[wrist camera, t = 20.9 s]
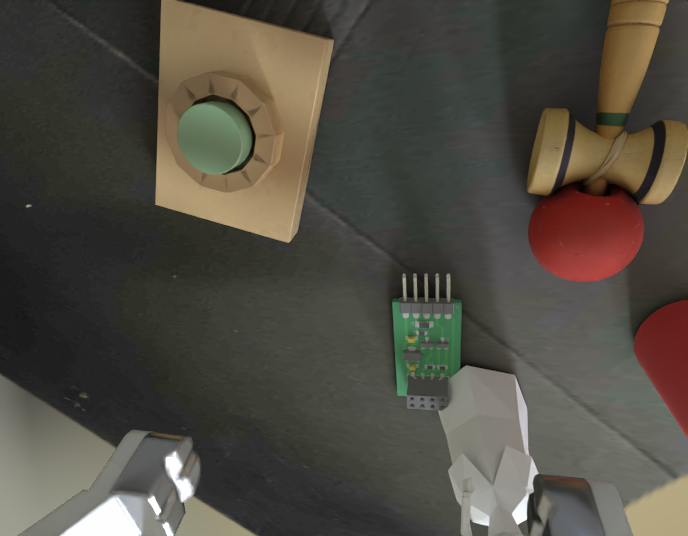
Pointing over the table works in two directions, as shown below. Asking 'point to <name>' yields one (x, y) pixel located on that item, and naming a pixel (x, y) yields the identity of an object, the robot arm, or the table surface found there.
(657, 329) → the beer can
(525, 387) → the table surface
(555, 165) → the kendama
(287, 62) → the button block
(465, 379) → the figurine
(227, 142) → the button
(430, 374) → the circuit board
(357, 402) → the table surface
